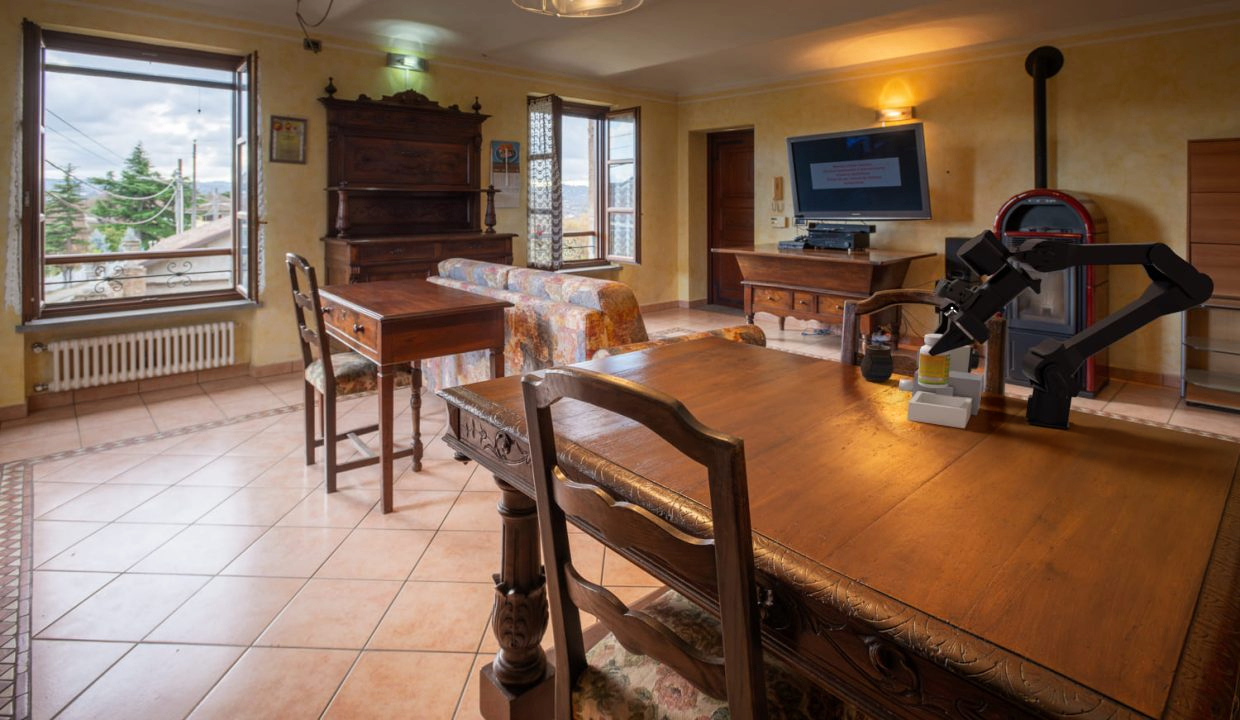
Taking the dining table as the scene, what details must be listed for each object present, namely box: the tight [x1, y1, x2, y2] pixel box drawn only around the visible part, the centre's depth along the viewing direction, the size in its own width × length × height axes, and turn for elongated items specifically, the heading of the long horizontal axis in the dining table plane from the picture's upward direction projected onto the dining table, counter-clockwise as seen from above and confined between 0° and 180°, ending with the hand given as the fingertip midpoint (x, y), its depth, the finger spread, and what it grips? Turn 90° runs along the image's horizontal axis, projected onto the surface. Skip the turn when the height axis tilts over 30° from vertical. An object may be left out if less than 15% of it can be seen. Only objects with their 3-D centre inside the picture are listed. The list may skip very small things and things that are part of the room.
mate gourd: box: [860, 341, 895, 383], centre depth 164 cm, size 7×8×10 cm
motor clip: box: [898, 367, 984, 429], centre depth 138 cm, size 15×16×7 cm
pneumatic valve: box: [916, 342, 980, 373], centre depth 153 cm, size 6×12×12 cm, turn 77°
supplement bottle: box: [918, 333, 951, 388], centre depth 134 cm, size 5×5×10 cm
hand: (927, 351), depth 134 cm, fingers closed on supplement bottle, 5 cm apart
